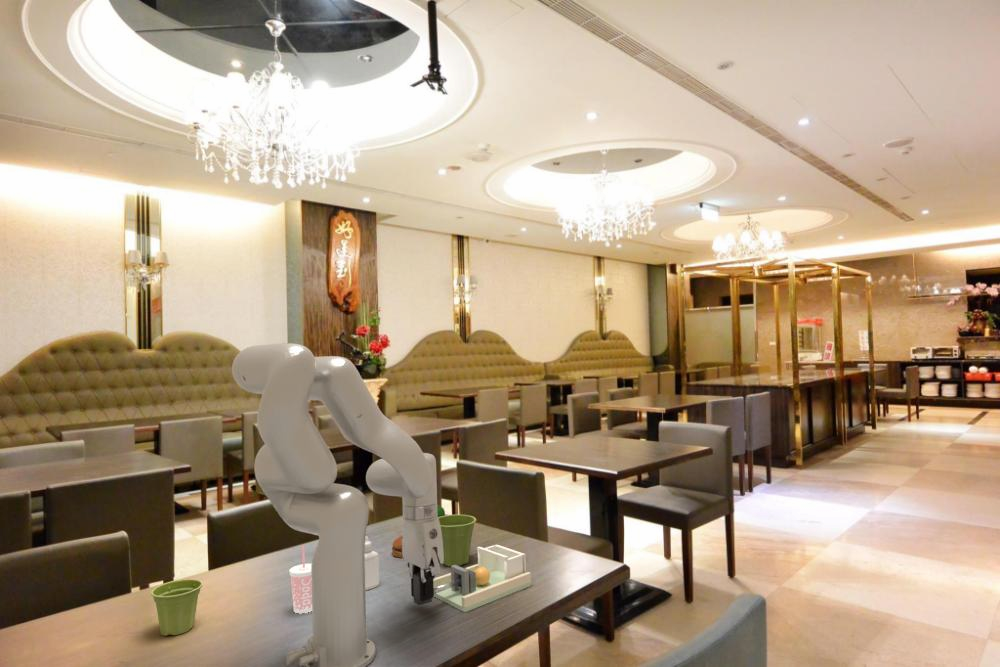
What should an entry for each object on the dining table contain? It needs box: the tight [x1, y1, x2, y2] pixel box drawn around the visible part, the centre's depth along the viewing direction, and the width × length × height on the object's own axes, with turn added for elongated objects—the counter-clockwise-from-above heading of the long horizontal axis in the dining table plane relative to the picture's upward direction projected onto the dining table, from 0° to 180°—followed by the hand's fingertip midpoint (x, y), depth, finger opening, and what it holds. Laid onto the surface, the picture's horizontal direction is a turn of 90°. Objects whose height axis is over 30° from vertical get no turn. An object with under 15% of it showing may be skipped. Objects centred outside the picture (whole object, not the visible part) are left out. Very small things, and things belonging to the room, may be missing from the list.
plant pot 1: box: [150, 578, 204, 637], centre depth 120 cm, size 9×9×9 cm
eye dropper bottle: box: [365, 536, 380, 591], centre depth 139 cm, size 4×6×12 cm
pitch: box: [433, 544, 532, 613], centre depth 135 cm, size 20×14×8 cm
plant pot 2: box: [438, 514, 477, 567], centre depth 154 cm, size 12×12×11 cm
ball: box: [474, 567, 490, 585], centre depth 135 cm, size 4×4×4 cm
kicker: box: [413, 566, 476, 607], centre depth 128 cm, size 14×5×6 cm, turn 131°
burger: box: [391, 535, 404, 559], centre depth 163 cm, size 10×9×5 cm
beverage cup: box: [288, 544, 312, 615], centre depth 128 cm, size 6×6×14 cm
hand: (422, 596), depth 124 cm, fingers closed on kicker, 2 cm apart
